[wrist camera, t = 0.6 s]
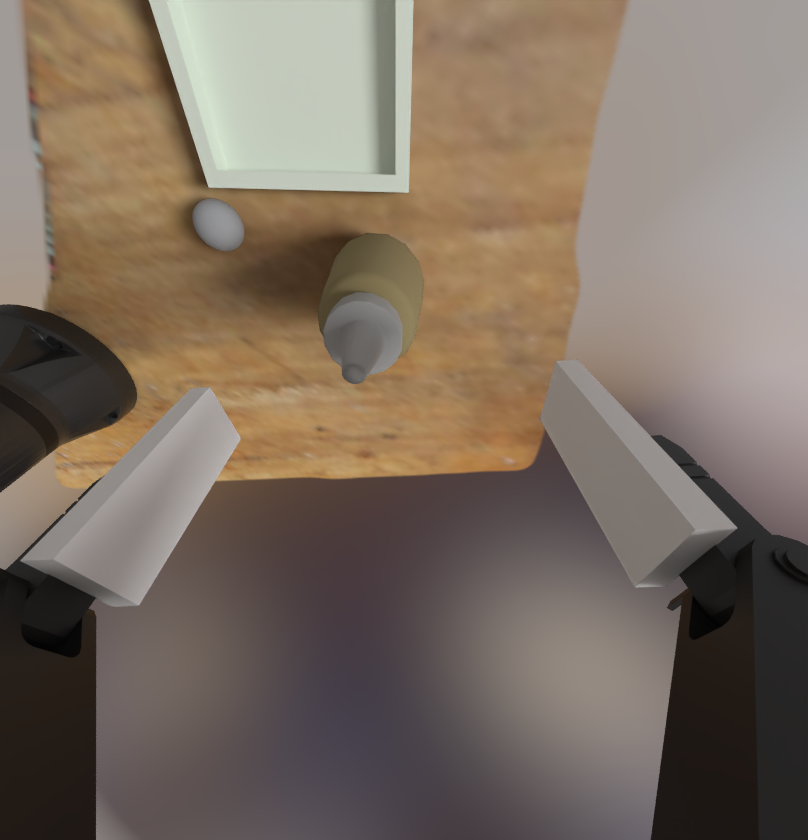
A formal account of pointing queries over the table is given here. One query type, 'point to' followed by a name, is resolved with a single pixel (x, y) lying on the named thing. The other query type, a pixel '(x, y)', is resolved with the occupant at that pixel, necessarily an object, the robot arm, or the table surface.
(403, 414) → the table surface
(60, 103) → the table surface
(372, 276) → the squeeze bottle
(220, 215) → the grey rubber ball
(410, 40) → the tray
